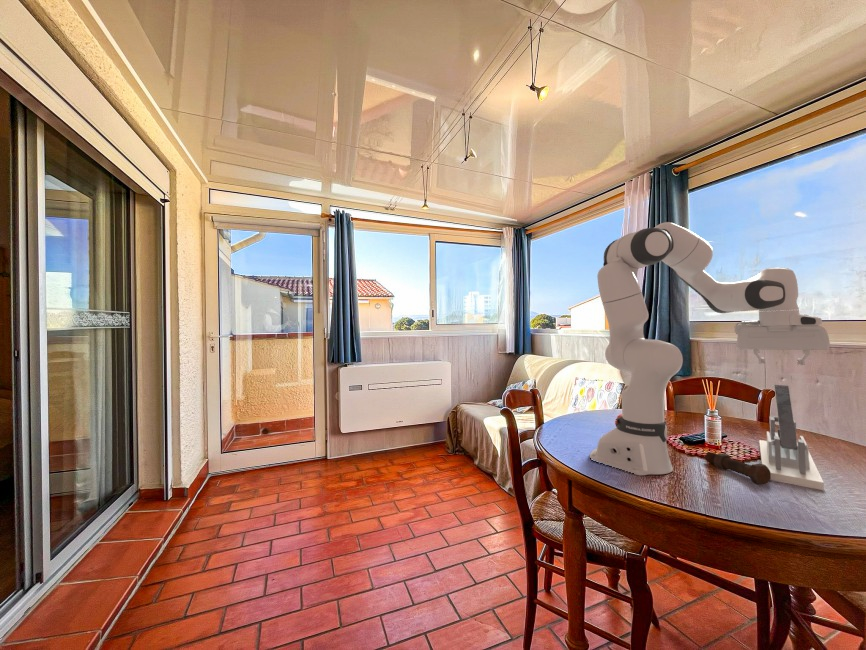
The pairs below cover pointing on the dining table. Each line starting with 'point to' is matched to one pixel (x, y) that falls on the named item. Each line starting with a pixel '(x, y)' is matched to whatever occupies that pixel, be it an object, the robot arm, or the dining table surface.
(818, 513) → the dining table surface
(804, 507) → the dining table surface
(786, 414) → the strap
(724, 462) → the bolt
